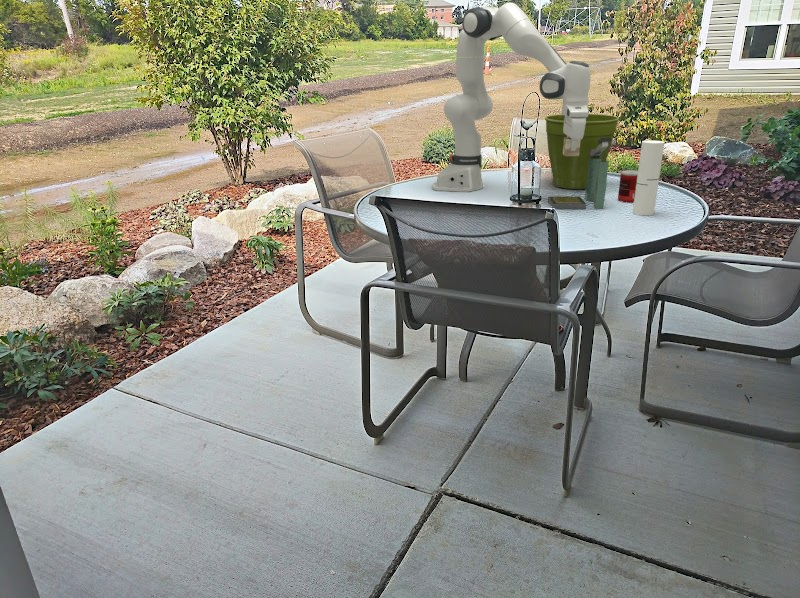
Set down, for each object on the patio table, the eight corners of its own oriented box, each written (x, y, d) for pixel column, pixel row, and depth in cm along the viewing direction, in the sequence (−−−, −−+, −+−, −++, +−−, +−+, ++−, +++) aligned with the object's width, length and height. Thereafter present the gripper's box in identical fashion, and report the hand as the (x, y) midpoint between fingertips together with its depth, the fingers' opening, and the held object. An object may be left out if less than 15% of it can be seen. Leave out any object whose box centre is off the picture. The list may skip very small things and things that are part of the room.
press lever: (589, 158, 226) (589, 149, 226) (599, 158, 226) (600, 149, 226) (600, 147, 210) (600, 138, 210) (611, 147, 210) (611, 137, 210)
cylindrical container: (655, 215, 207) (666, 143, 198) (634, 215, 209) (643, 143, 199) (651, 210, 214) (662, 140, 204) (631, 210, 215) (640, 140, 206)
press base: (552, 209, 219) (556, 163, 213) (546, 198, 235) (549, 155, 228) (605, 209, 218) (610, 162, 211) (594, 198, 233) (599, 155, 227)
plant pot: (542, 178, 274) (546, 113, 263) (609, 180, 266) (617, 113, 255) (538, 191, 247) (543, 120, 236) (612, 194, 240) (621, 121, 229)
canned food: (639, 198, 231) (643, 170, 227) (637, 203, 225) (641, 174, 221) (618, 197, 235) (622, 169, 230) (616, 201, 228) (619, 173, 224)
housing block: (579, 156, 215) (580, 139, 212) (565, 156, 215) (566, 139, 213) (576, 153, 219) (577, 137, 217) (562, 154, 220) (564, 137, 217)
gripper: (560, 107, 221) (557, 145, 226) (570, 112, 202) (567, 153, 207) (578, 107, 220) (574, 145, 226) (589, 112, 202) (585, 153, 207)
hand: (571, 149), depth 216 cm, fingers closed on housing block, 5 cm apart
